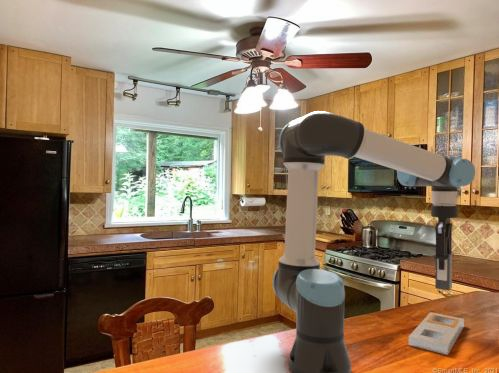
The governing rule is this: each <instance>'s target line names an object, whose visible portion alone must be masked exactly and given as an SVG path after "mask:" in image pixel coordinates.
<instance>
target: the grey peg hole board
mask: <svg viewBox="0 0 499 373" xmlns="http://www.w3.org/2000/svg"><path fill="white" fill-rule="evenodd" d="M464 328H465V318H461V317H456V316H451V315H446V314H441V313H437V312H436V313H435V312H431V311H429V313H428V314H427V315H426V316H425V317H424V319H423V320H422V321H421V322H420V323H419V324H418V325H417V327H416V328H415V329H414V330H413V331H412V332H411V333H410V334H409V335H408V346H411V347H414V348H419V349H421V350H427V351H430V352H434V353H438V354H442V355H445V356H449V354H450V352H451V350H452V348H453V346H454V345H455V344H456V341H457V340H458V338H459V336H460V334H461V333H462V331H463V329H464Z"/></svg>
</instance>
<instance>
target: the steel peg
mask: <svg viewBox="0 0 499 373" xmlns="http://www.w3.org/2000/svg"><path fill="white" fill-rule="evenodd" d="M452 254H453V252H452V253H447V254H446V257H447V281H444V280H438V279H437V259H435V279H434V280H435V281H434V283H435V289H436V290H437V289H438V290H443V291H451V290H452V289H453V257H452Z"/></svg>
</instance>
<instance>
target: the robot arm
mask: <svg viewBox="0 0 499 373" xmlns="http://www.w3.org/2000/svg"><path fill="white" fill-rule="evenodd" d="M278 138H279V139H278V145H279V150H281V152H282V154H283V160H282V161H283V162H282V163H283V166H284V168H286V169H287V171H288V172H287V190H286V192H287V193H286V210H285V211H286V213H285V214H286V216H285V232H284V234H285V236H284V253H283V255H282V256H280V257H279V259H278V266H277V269H276V270H275V272H274V273H273V276H272V289H273V291H274V293H275V295H276V296H277V298H278V300H279V301H280V302H281V303H282V304H283V305H284V306H286V307H288V308H289V309H290V310H292V311H293V313H295V314H296V316H295V318H296V319H295V320H296V322H295V325H296V326H295V328H296V331H295V333H296V334H295V339H294V341H293V344H292V347H291V350H290V353H289V356H288V369H289V371H290V372H291V373H352V362H351V359H350V358H351V357H350V355H349V351H348V349H347V346H346V343H345V300H346V291H345V284H344V281H343V279H342V277H341V276H339V275H338V274H336V273H334V272H332V271H329V270H325V269H320V268H321V267H320V266H321V262H320V260H319V259H318V258H317V257H316V240H317V239H316V236H317V215H318V198H319V197H318V196H319V193H318V192H319V172H320V171H321V169H323V168H324V167H325V162H326V160H325V159H326V156H329V157H330V156H334V157H335V156H336V157H341V158H344V159H349V160H351V159H352V158H358V159H359V160H360V159H361V160H364V161H366V162H370V163H374V164H376V165H380V166H383V167H386V168H388V169H392V170H395V171H396V173H397V177H396V178H397V180H398V182H399V183H400V185H402V186H403V187H404V186H405V187H431V188H430V189H431V190H430V193H431V194H430V203H431V204H432V205H431V206H430V216H431V217H432V218H437V222H436V223H435V227H434V230H435V256H433V258H434V259H435V260H436V259H437V279H438V280H444V281H447V257H446V254H447V253H452V258H453V257H454V254H453V252H452V251H453V250H452V245H453V242H452V238H453V237H452V236H453V234H452V233H453V232H452V231H453V223H451V219H455V218H456V219H457V218H458V215H459V214H458V210H459V209H458V206H457V205H458V198H460V197H461V195H460V194H459V192H458V191H459V190H458V189H459V187H466V186H469V185H470V184H471V183H473V181H474V179H475V177H476V167H475V165H474V163H473V162H472V161H471V160H469V159H468V158H460V157H457V156H455V155H441V154H438V153H435V152H433V151H430V150H427V149H424V148H421V147H419V146H415V145H413V144H409V143H408V142H404V141H402V140H398V139H396V138H393V137H390V136H388V135H387V136H386V135H385V134H381V133H378V132H376V131H372V130H370V129H367V128H366V127H365V125H364V124H363V123H361V122H359V121H357V120H355V119H351V118H348V117H346V116H342V115H338V114H336V113H332V112H328V111H312V112H310V113H308V114H306V115H303V116H302V117H297V118H294V119H293V120H291V121H289V122H288V123H287V124H286V125H285V126H283V128H282V129H281V131H280V134H279V137H278Z"/></svg>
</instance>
